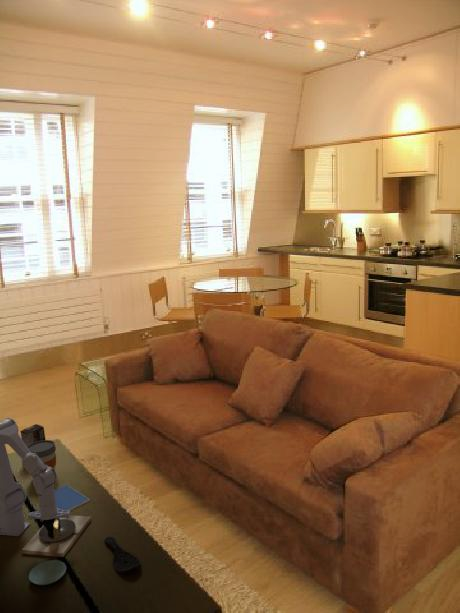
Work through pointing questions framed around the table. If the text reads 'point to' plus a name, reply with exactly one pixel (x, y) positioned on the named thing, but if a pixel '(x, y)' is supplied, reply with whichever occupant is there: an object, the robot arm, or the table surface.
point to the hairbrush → (122, 557)
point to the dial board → (57, 548)
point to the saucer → (47, 572)
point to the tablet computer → (69, 498)
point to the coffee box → (33, 434)
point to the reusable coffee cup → (44, 452)
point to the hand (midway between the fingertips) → (51, 535)
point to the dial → (58, 531)
